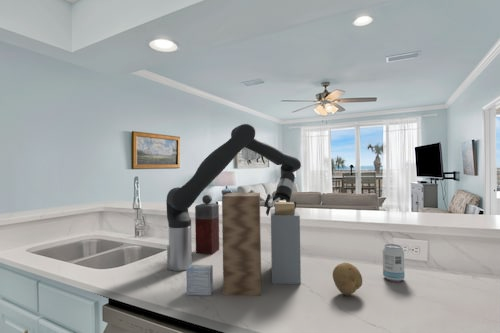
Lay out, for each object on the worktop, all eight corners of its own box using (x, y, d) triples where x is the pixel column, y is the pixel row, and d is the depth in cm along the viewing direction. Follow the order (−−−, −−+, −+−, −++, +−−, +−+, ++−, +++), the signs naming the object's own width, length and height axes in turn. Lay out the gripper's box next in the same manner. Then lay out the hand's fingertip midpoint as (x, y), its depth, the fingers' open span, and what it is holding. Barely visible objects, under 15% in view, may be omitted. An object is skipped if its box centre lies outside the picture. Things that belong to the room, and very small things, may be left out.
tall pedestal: (223, 295, 92) (222, 196, 92) (228, 280, 104) (227, 193, 104) (260, 295, 91) (258, 195, 91) (261, 280, 103) (259, 192, 103)
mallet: (294, 214, 102) (294, 203, 102) (275, 215, 102) (274, 203, 102) (290, 207, 122) (290, 197, 122) (273, 207, 122) (273, 198, 122)
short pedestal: (272, 283, 100) (271, 215, 101) (271, 267, 117) (270, 209, 117) (300, 283, 100) (299, 215, 100) (295, 267, 116) (295, 208, 116)
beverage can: (404, 277, 104) (403, 244, 104) (404, 284, 98) (403, 249, 98) (383, 274, 107) (383, 242, 108) (382, 280, 101) (382, 247, 101)
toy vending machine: (221, 248, 146) (220, 193, 146) (212, 254, 136) (211, 196, 136) (205, 247, 149) (204, 193, 149) (195, 253, 138) (194, 195, 138)
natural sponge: (348, 286, 97) (347, 257, 97) (369, 297, 89) (368, 265, 89) (327, 291, 93) (326, 261, 93) (347, 303, 85) (346, 270, 85)
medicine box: (213, 290, 96) (213, 264, 96) (210, 296, 91) (209, 269, 91) (190, 289, 96) (190, 264, 96) (186, 295, 92) (185, 268, 92)
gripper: (271, 181, 135) (262, 208, 124) (300, 189, 133) (294, 217, 123) (269, 190, 141) (260, 217, 130) (297, 198, 139) (290, 226, 128)
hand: (276, 217), depth 126 cm, fingers open, 8 cm apart
